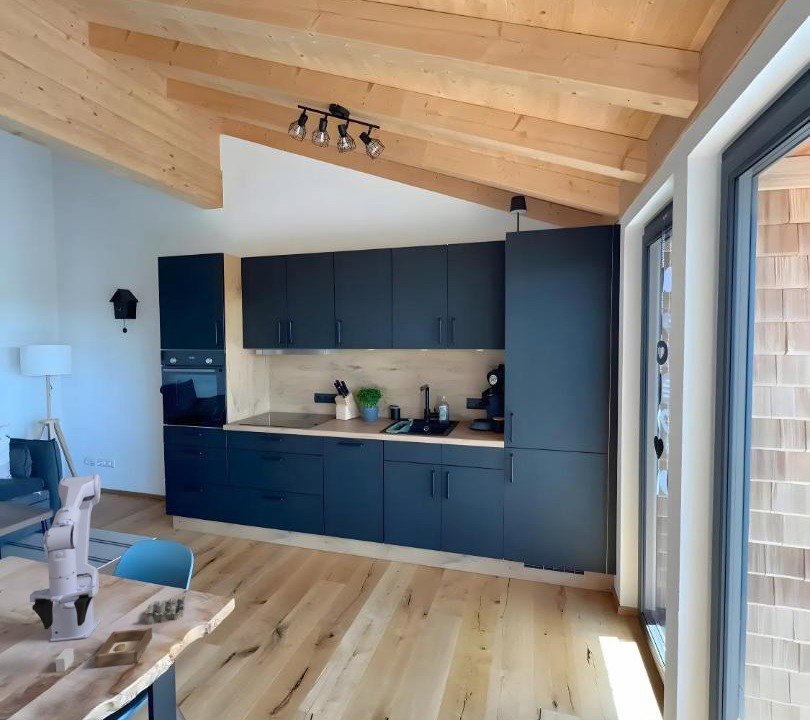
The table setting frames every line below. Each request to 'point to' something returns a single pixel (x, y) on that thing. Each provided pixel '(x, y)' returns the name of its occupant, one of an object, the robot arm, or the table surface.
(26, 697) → the table surface
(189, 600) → the table surface
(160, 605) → the egg carton
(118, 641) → the box
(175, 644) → the table surface
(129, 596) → the table surface
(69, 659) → the lid
